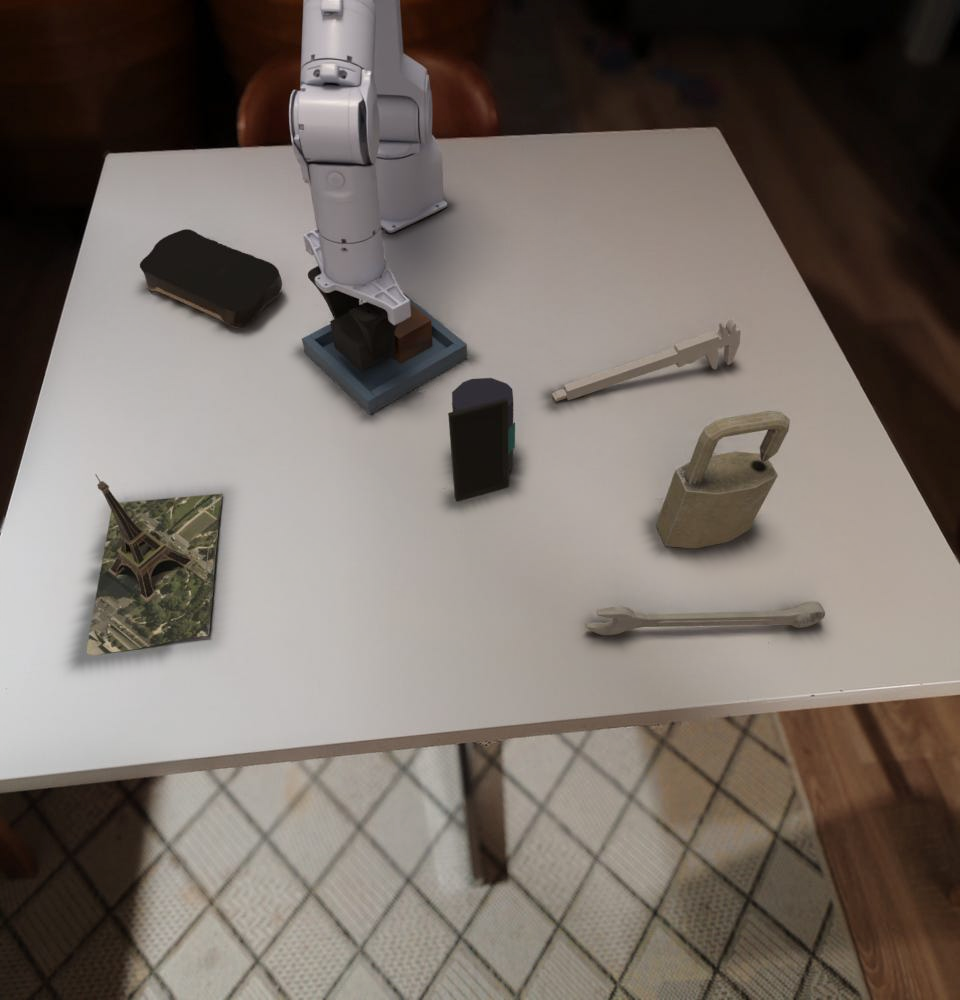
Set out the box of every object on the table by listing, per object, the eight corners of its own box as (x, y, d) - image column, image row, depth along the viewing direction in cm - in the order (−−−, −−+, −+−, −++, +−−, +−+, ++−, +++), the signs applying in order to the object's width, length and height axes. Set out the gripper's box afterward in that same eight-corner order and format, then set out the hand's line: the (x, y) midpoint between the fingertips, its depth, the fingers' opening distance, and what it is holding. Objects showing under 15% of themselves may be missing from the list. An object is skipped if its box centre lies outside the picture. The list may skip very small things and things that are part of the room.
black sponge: (294, 295, 89) (288, 269, 86) (245, 338, 85) (237, 311, 82) (188, 250, 94) (180, 223, 91) (137, 288, 89) (126, 261, 86)
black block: (368, 329, 83) (364, 302, 80) (396, 354, 81) (394, 327, 78) (334, 347, 81) (329, 320, 78) (362, 373, 79) (358, 346, 76)
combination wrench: (830, 596, 63) (588, 600, 62) (835, 610, 62) (590, 615, 61) (812, 617, 66) (581, 622, 65) (816, 631, 65) (583, 636, 64)
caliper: (726, 359, 84) (743, 314, 79) (731, 366, 84) (748, 321, 78) (551, 396, 80) (557, 351, 75) (555, 403, 80) (561, 359, 75)
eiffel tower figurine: (213, 641, 63) (163, 554, 52) (85, 656, 62) (7, 570, 51) (223, 496, 72) (181, 396, 61) (110, 507, 71) (48, 407, 60)
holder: (399, 302, 89) (398, 288, 87) (467, 358, 84) (467, 344, 82) (304, 352, 84) (301, 338, 82) (369, 414, 78) (367, 401, 77)
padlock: (752, 537, 70) (812, 428, 58) (668, 553, 69) (711, 444, 57) (734, 503, 72) (788, 391, 60) (652, 518, 71) (691, 406, 59)
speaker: (516, 501, 72) (516, 417, 64) (454, 502, 72) (447, 419, 64) (514, 444, 77) (514, 361, 69) (456, 445, 77) (450, 362, 69)
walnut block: (404, 322, 86) (402, 296, 83) (432, 345, 84) (431, 320, 81) (372, 339, 84) (369, 313, 81) (400, 364, 82) (398, 338, 79)
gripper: (266, 204, 70) (293, 320, 81) (360, 282, 64) (374, 397, 75) (331, 177, 73) (347, 293, 84) (426, 249, 67) (431, 364, 78)
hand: (364, 340), depth 80 cm, fingers closed on black block, 5 cm apart
